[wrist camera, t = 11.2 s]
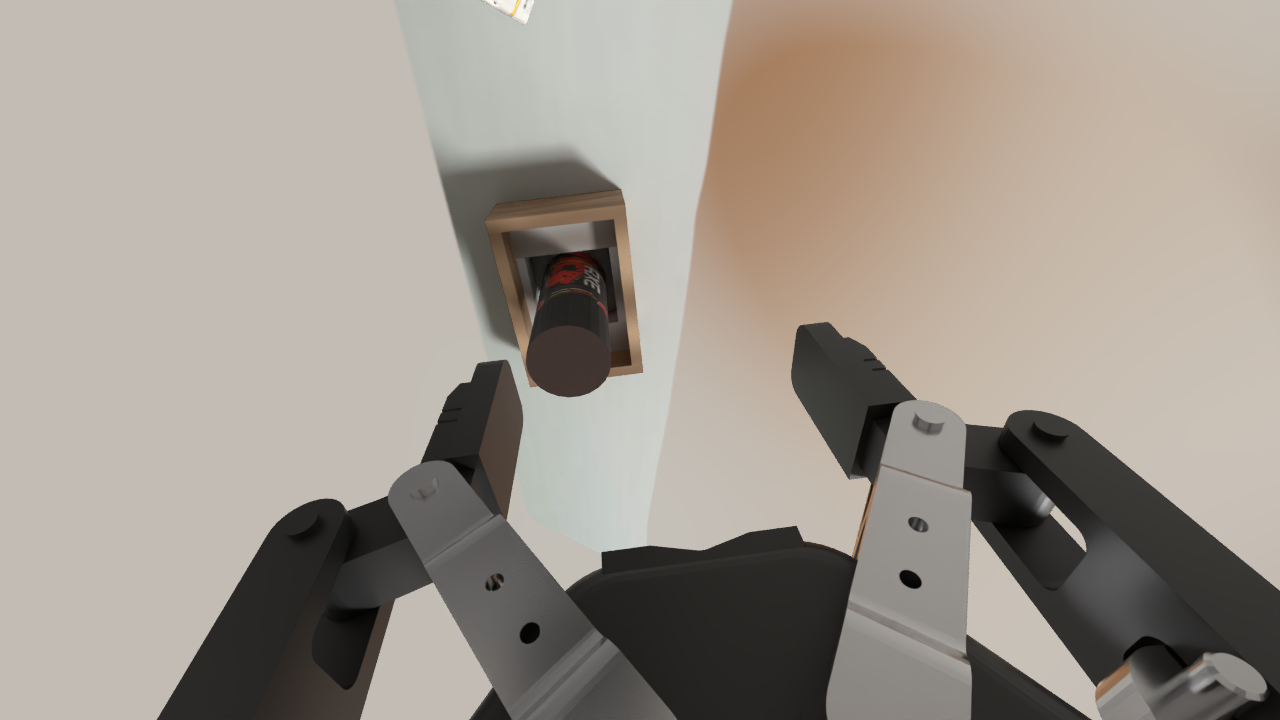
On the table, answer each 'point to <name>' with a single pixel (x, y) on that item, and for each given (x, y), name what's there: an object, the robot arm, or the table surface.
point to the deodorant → (570, 327)
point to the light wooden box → (562, 231)
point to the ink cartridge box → (513, 8)
